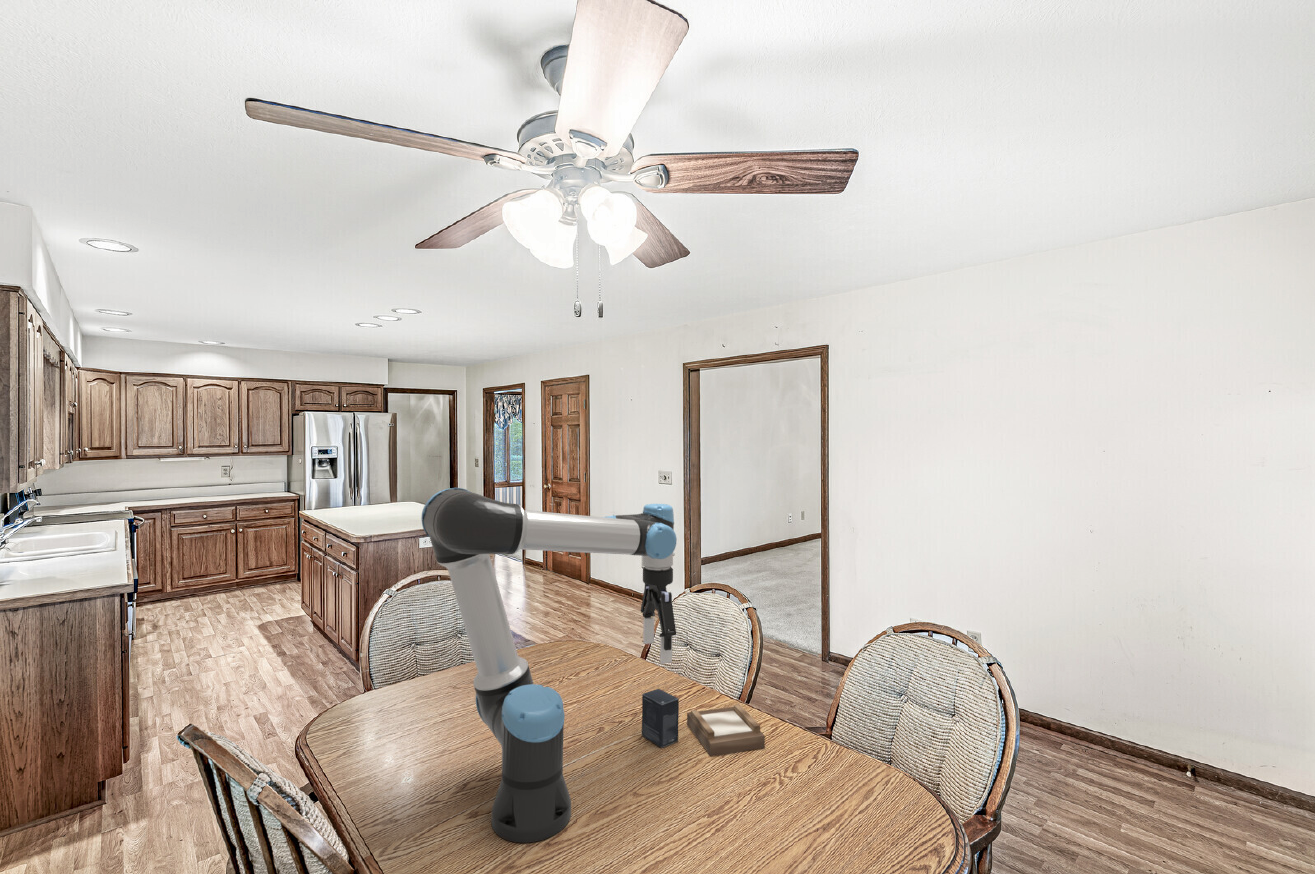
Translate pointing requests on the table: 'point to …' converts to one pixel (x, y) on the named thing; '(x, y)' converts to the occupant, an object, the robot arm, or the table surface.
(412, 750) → the table surface
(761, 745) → the stand
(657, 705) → the box
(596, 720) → the table surface
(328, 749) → the table surface
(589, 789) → the table surface
